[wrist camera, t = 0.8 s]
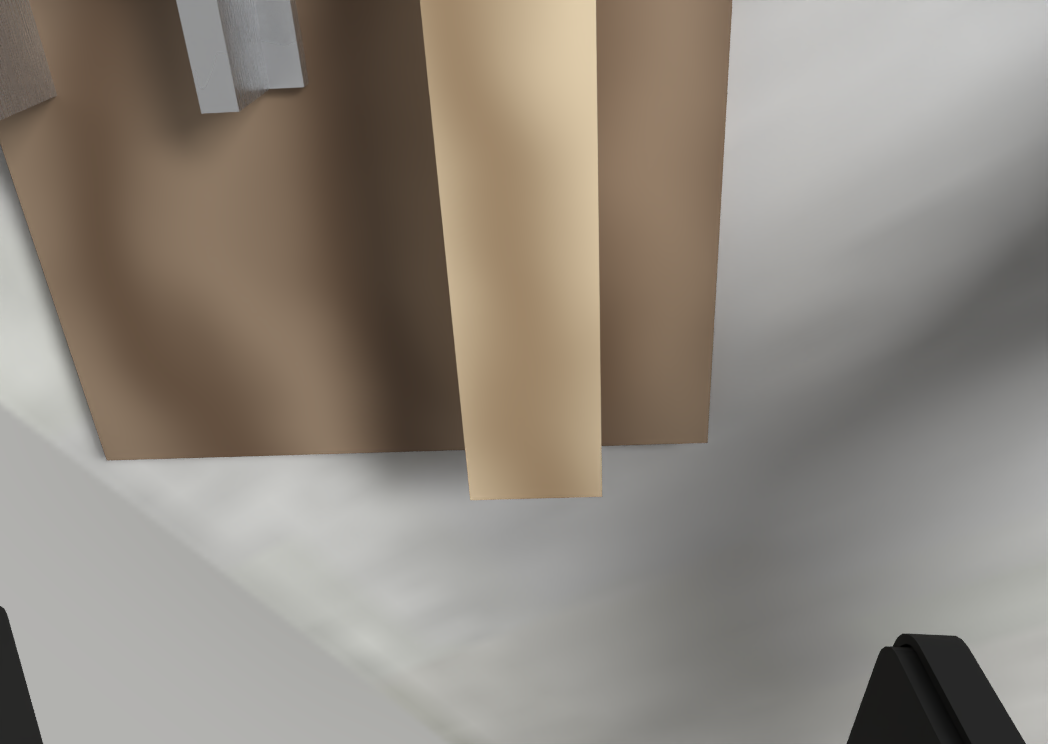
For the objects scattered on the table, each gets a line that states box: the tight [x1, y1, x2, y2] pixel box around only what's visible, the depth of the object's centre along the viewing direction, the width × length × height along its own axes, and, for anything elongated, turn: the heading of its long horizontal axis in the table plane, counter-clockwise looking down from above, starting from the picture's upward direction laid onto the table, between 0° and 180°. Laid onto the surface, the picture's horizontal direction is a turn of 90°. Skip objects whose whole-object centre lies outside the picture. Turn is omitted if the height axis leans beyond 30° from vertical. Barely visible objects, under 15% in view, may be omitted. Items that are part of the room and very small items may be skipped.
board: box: [0, 0, 732, 460], centre depth 27 cm, size 22×23×2 cm
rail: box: [420, 0, 602, 500], centre depth 25 cm, size 4×18×5 cm, turn 3°
